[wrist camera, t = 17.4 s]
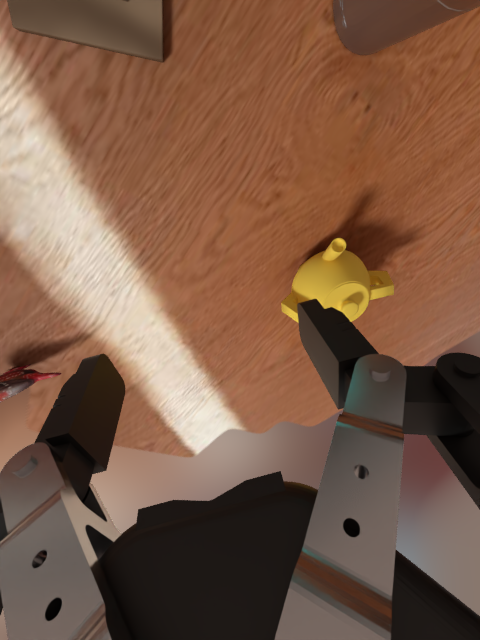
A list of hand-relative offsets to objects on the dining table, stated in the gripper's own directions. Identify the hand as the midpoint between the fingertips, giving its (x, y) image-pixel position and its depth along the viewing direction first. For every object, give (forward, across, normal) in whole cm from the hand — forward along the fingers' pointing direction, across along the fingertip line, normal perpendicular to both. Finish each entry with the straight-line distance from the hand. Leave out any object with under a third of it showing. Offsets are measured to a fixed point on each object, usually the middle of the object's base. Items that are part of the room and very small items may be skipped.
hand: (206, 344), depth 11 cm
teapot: (+33, -18, +18) cm, 42 cm away
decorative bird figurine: (+33, +37, +20) cm, 54 cm away
